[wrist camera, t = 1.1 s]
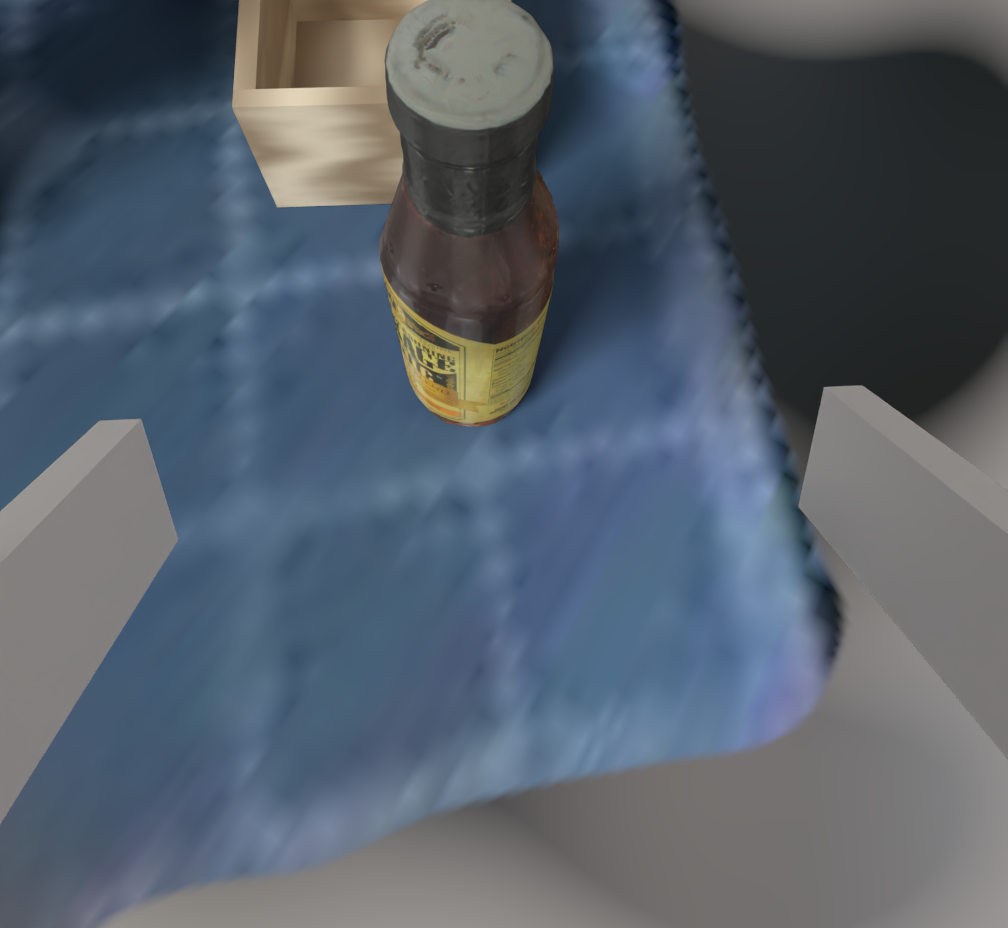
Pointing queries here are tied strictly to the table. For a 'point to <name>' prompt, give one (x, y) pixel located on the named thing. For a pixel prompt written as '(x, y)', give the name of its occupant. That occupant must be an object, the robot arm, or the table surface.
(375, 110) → the crate
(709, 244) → the table surface
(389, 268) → the sauce bottle
